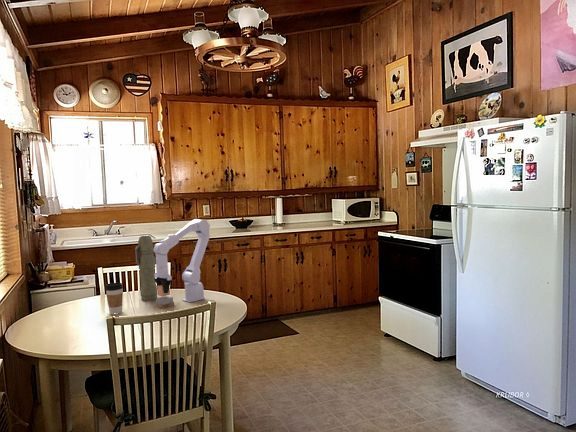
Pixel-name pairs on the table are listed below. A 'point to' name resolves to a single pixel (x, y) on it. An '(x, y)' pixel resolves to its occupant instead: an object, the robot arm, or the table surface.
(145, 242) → the stone statue
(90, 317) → the table surface
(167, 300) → the tower middle
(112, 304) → the coffee cup
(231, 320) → the table surface
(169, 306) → the tower base
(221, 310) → the table surface
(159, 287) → the terracotta block
